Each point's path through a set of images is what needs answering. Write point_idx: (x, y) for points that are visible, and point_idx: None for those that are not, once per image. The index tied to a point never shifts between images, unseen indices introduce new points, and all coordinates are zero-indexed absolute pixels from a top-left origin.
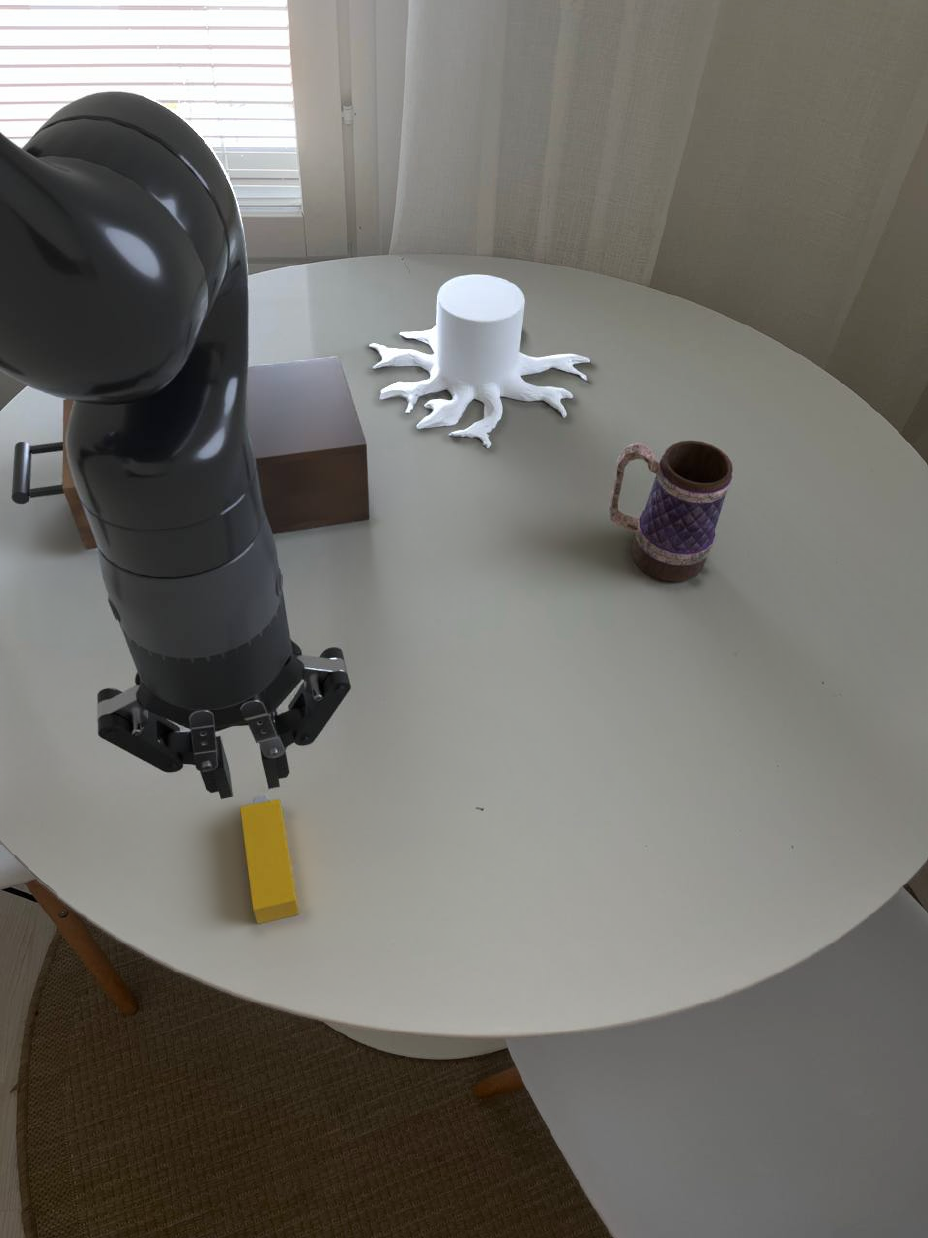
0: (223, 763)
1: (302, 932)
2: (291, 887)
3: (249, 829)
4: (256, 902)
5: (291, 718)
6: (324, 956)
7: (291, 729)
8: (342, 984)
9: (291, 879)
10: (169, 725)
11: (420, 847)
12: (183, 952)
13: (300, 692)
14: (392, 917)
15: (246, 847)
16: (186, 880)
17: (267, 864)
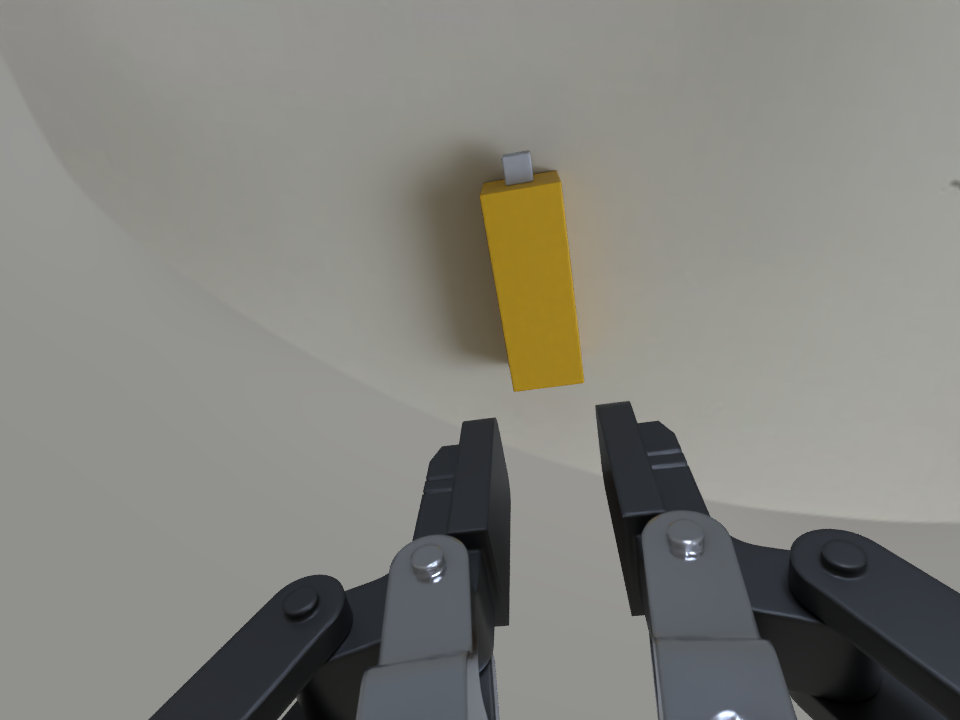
0: (505, 611)
1: None
2: (578, 361)
3: (501, 248)
4: (518, 380)
5: (809, 654)
6: None
7: (795, 685)
8: None
9: (578, 349)
10: (300, 686)
11: (809, 258)
12: (407, 392)
13: (941, 702)
14: (726, 372)
15: (497, 285)
16: (392, 285)
17: (536, 319)
